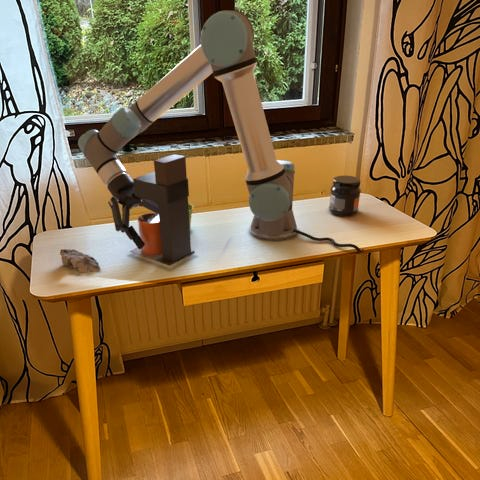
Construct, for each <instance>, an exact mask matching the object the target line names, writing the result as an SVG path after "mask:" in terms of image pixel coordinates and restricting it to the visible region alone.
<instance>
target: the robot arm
mask: <svg viewBox="0 0 480 480" xmlns="http://www.w3.org/2000/svg"><path fill="white" fill-rule="evenodd" d="M199 39H200V40H199V41H200V44H199V46H197V47H196V48H195V49H194V50H193V51H191V52H190V53H189V54H188V55H187V56H186V57H185V58H183V59H182V60H181V61H180V62H179V63H178V64H177V65H176V66H175V67H173V68H172V69H171V70H170V71H169V72H168V73H167V74H165V76H163V77H162V78H161V79H160V80H159V81H158V82H156V83H155V84H154V85H153V86H151V88H149V89H148V90H147V91H146V92H145V93H144V94H143V95H142V96H141V97H140V98H138V99H137V100H136V101H135V102H134V103H132V104H131V105H130V106H129V107H128V108H127V107H125V106H124V107H123V106H122V107H120V108H119V109H118V110H117V111H116V112H115V113H113V115H112V116H111V118H110V119H108V120H107V122H106V123H105V124H104V125H103V127H102V128H101V129H100V130H98V129H88V131H86V132H85V133H83V134H82V135H80V137H79V139H78V141H77V146H78V148H79V149H80V151H81V152H82V154H83V156H84V158H85V159H86V160H87V161H88V163H89V164H90V166H91V167H92V168H93V169H94V171H95V172H96V174H97V176H98V177H99V179H100V180H101V181H102V183H103V184H104V185H105V187H107V190H108V191H109V193H110V194H111V197H110V199H109V200H108V202H107V203H108V205H109V207H110V209H111V215H112V218H113V223H114V228H115V231H116V232H120V233H122V234H124V233H125V235H126V237H128V239H129V240H130V241H132V242H133V243H134V244H135V246H136V248H137V247H138V249H139V250H140V249H141V248H142V247H143V246H144V245H145V243H144V242H143V241H142V239H141V238H140V235H139V232H137V230H136V229H135V228H134V226H133V225H130V215H131V214H130V213H131V212H130V211H131V210H132V209H133V208H137V207H141V208H142V207H143V208H145V209H147V210H148V211H151V212H152V213H159V212H158V202H154V201H150V200H147V199H143V198H139V197H136V196H135V189H134V181H133V179H132V176H130V174H129V173H128V170H126V168H125V166H124V165H123V164H122V163H121V161H120V160H119V159H118V157H117V154H118V153H119V152H120V150H122V149H123V148H124V146H126V145H127V144H128V143H129V142H130V141H132V139H134V138H135V137H136V136H138V135H139V134H141V133H143V132H145V131H146V130H147V129H148V127H150V126H151V125H152V124H153V123H154V122H155V121H156V120H158V119H159V118H160V117H161V116H162V115H164V114H165V113H166V112H167V111H168V110H170V109H171V108H172V107H173V106H174V105H175V104H177V103H178V102H179V101H181V100H182V99H183V98H184V97H185V96H186V95H188V94H189V93H190V92H192V91H193V90H194V89H195V88H196V87H198V85H200V84H201V83H203V81H205V80H206V79H207V78H208V77H210V75H212V74H213V77H214V79H216V80H217V81H219V82H220V83H222V87H223V90H224V94H225V98H226V100H227V104H228V107H229V111H230V114H231V117H232V121H233V124H234V127H235V132H236V135H237V138H238V141H239V142H238V143H239V145H240V147H241V152H242V156H243V159H244V161H245V165H246V169H247V172H246V173H245V176H244V181H245V184H246V187H247V191H248V194H249V195H248V205H249V206H248V207H249V210H250V211H251V213H252V214H253V216H252V217H253V218H252V221H251V223H250V233H251V234H252V235H253V236H254V237H256V238H258V239H261V240H266V241H282V240H287V239H291V238H293V237H294V236H295V235H296V234H298V235H301V236H303V237H306V238H308V239H309V240H312V241H316V242H325V241H326V242H327V241H328V242H331V244H332V245H333V246H334V247H337V248H353V249H355V250H356V251H357V252H360V253H362V250H361V248H360V247H359V246H358V245H356V244H353V243H339V242H338V243H337V242H336V241H335V239H334V238H332V237H316V236H314V235H311V234H309V233H306V232H304V231H301V230H298V226H297V222H296V219H295V214H294V211H293V201H294V184H295V183H294V182H295V174H296V171H295V164H294V163H293V162H292V161H289V160H281V159H277V156H276V152H275V149H274V144H273V141H272V137H271V134H270V130H269V125H268V122H267V120H266V113H265V111H264V107H263V103H262V99H261V96H260V95H261V94H260V91H259V88H258V84H257V80H256V77H255V69H256V67H257V64H258V61H257V57H256V53H255V49H254V45H253V44H254V41H255V30H254V26H253V24H252V22H251V20H250V18H249V17H248V16H247V15H246V14H244V13H243V12H241V11H239V10H236V9H235V10H233V9H230V10H226V9H225V10H223V9H222V10H221V11H217V12H215V13H213V14H212V15H210V17H209V18H208V19H206V21H205V23H204V24H203V26H202V29H201V31H200V38H199ZM120 205H121V209H120ZM121 212H122V213H121Z"/></svg>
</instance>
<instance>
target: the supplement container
mask: <svg viewBox="0 0 480 480" xmlns="http://www.w3.org/2000/svg"><path fill="white" fill-rule="evenodd" d="M361 192H362V189H361V179H360V178H359V177H358V176H353V175H337V176H334V177H333V178H332V185H331V187H330V195H329V206H328V210H329V212H330V213H331V214H333V215H334V216H338V217H352V216H354V215H356V214H357V213H358V212H359V206H360V204H359V203H360V197H361Z"/></svg>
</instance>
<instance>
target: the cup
mask: <svg viewBox="0 0 480 480" xmlns="http://www.w3.org/2000/svg"><path fill="white" fill-rule="evenodd" d="M137 226H138V235H139V236H140V238H141V239H142V241H143V242H144V243H145V245H144V246H143V247H142V248H141V251H142V252H143V253H144V254H147V255H160V254H162V244H161V233H160V223H159V213H155V212H150V213H148V212H147V213H144V214H142V215H140V216H138V217H137Z"/></svg>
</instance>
